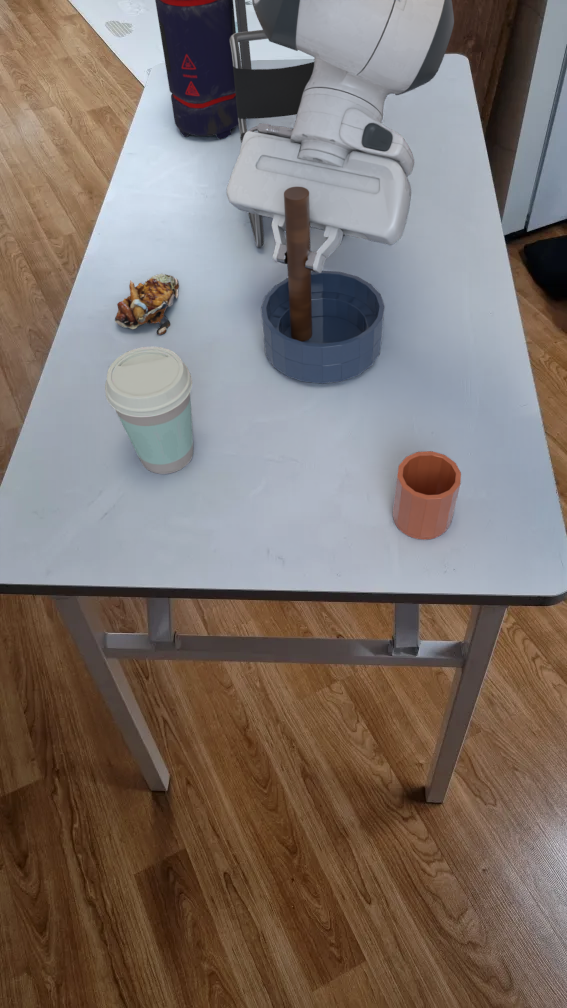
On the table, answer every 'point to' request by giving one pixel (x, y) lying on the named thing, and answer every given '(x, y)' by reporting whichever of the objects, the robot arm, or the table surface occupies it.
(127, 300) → the loaded food tray
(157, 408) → the coffee cup
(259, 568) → the table surface
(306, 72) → the chair
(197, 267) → the table surface
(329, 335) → the bowl
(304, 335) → the brown wooden rod
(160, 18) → the navy blue cylinder
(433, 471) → the crock
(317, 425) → the table surface
